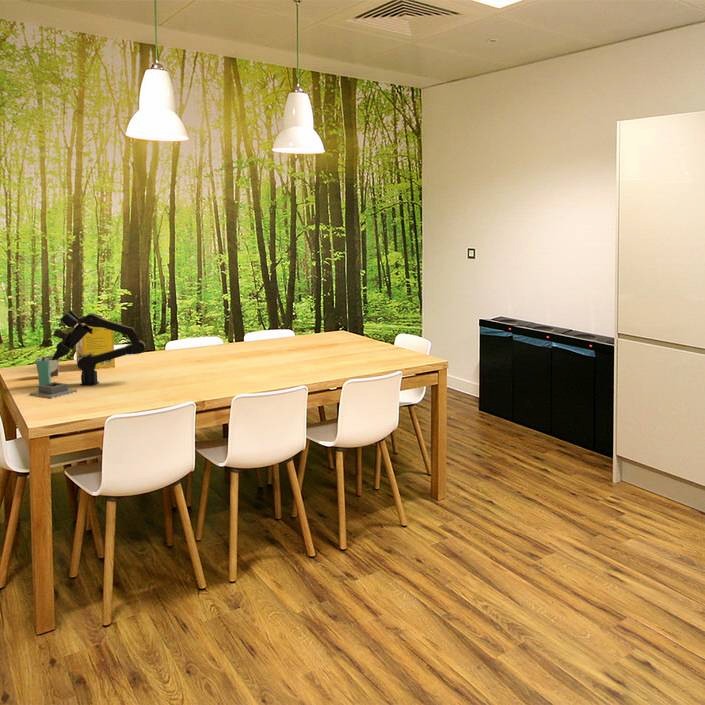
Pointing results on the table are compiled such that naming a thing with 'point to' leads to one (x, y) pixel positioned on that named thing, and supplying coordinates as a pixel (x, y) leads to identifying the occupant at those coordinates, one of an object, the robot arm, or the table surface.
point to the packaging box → (96, 345)
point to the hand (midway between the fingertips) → (54, 358)
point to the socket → (53, 390)
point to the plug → (44, 371)
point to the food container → (52, 365)
